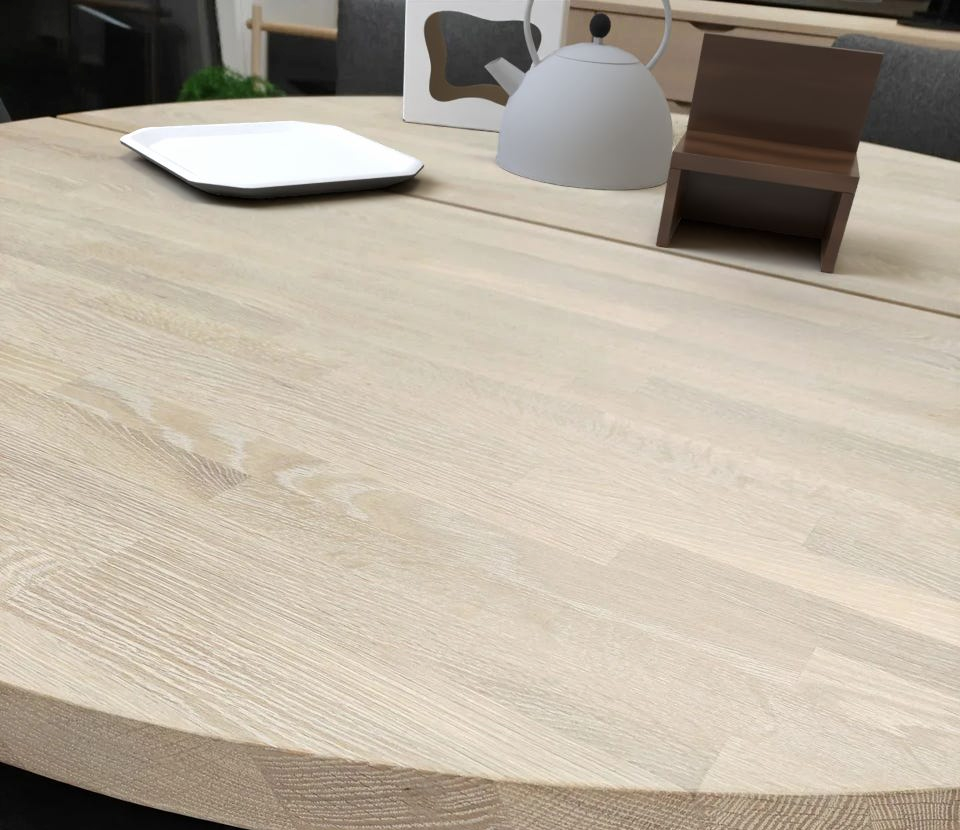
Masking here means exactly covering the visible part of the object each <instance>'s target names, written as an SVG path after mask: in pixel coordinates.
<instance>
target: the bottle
mask: <svg viewBox="0 0 960 830" xmlns="http://www.w3.org/2000/svg"><path fill="white" fill-rule="evenodd" d="M843 1H844V2H852V3H866V4H867V3H869V4H879V3H882V2H883V0H841V2H843Z"/></svg>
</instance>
